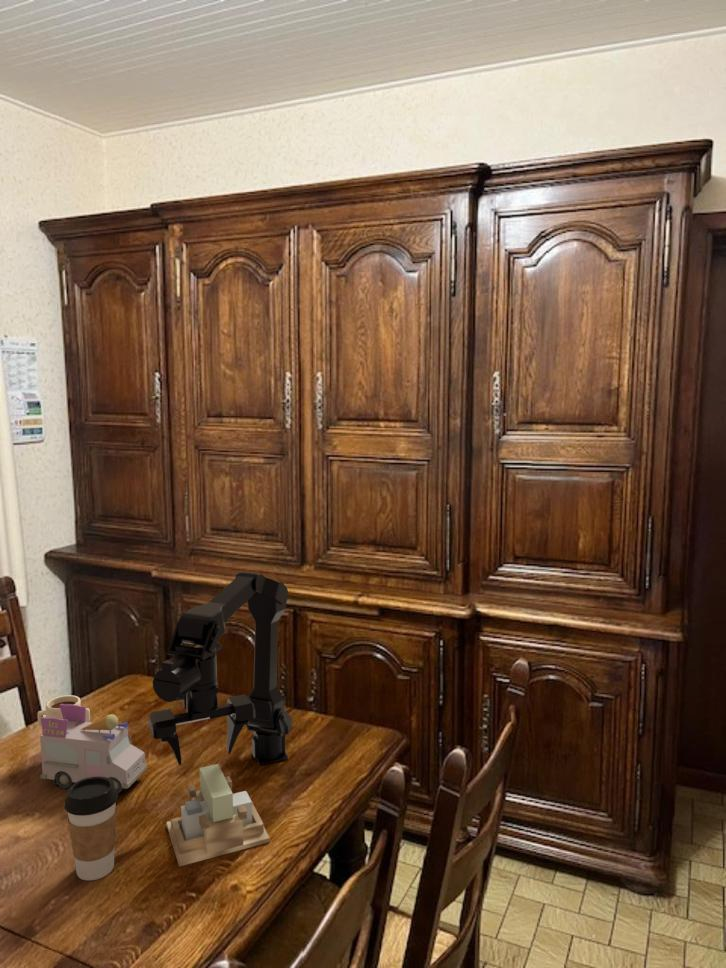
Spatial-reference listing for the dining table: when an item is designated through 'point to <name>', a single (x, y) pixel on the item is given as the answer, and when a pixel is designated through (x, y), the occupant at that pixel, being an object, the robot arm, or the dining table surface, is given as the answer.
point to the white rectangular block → (196, 809)
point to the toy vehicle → (88, 749)
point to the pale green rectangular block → (216, 793)
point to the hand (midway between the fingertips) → (204, 758)
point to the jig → (216, 834)
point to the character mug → (54, 707)
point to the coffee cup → (92, 825)
